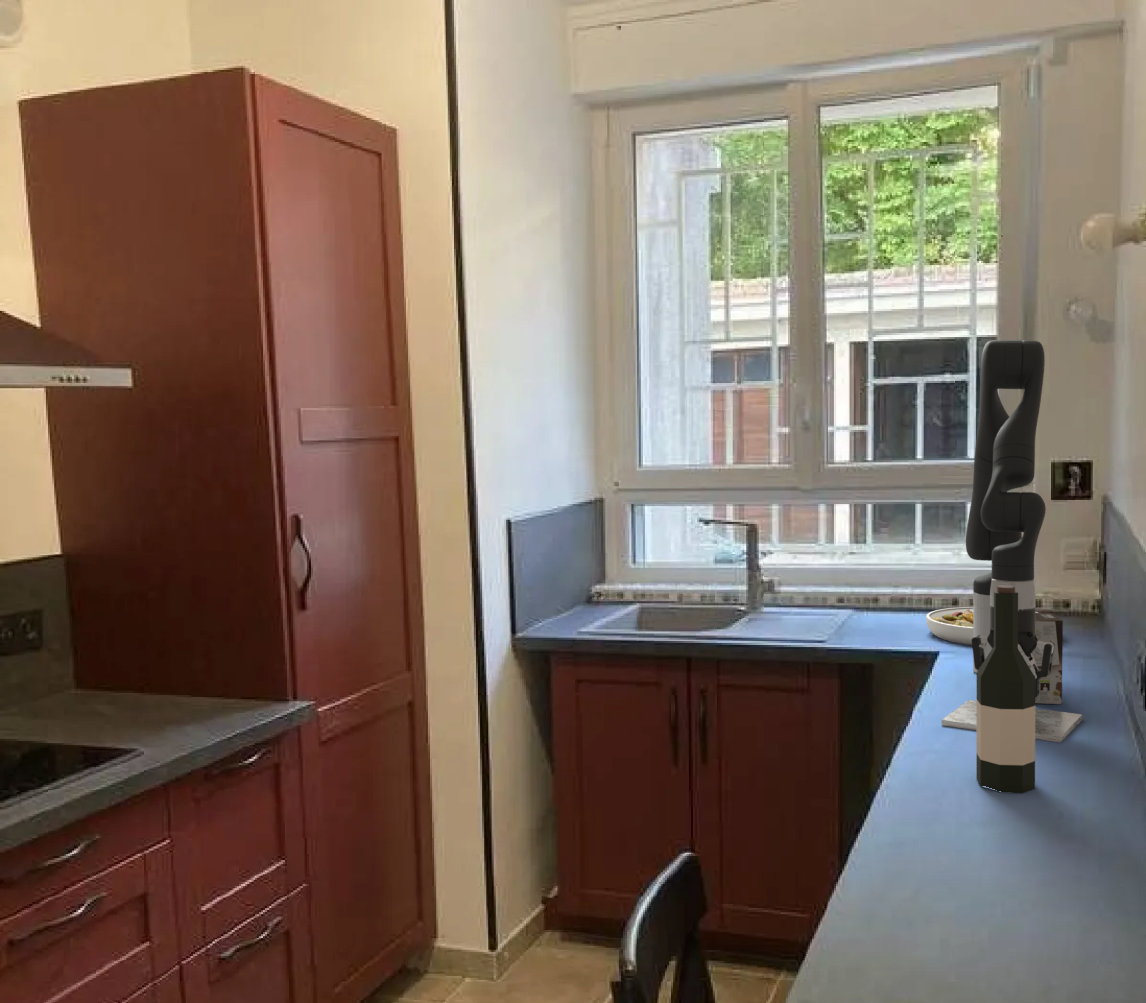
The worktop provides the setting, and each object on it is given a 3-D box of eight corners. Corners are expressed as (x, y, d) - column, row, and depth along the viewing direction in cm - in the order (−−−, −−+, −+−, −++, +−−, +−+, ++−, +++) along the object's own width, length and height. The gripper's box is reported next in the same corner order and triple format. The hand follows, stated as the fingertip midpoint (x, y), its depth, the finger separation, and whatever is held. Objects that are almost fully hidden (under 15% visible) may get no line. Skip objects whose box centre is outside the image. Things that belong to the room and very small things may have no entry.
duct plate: (968, 705, 211) (968, 674, 210) (1082, 720, 199) (1082, 687, 198) (941, 725, 198) (941, 692, 197) (1060, 742, 186) (1061, 707, 186)
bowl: (1047, 654, 253) (1048, 620, 252) (913, 644, 268) (913, 611, 267) (1063, 630, 279) (1063, 599, 278) (940, 622, 294) (940, 593, 293)
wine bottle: (1029, 797, 161) (1030, 592, 158) (970, 788, 165) (970, 588, 163) (1039, 780, 168) (1040, 584, 165) (982, 772, 172) (982, 581, 170)
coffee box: (1063, 704, 209) (1064, 620, 208) (1027, 703, 211) (1027, 620, 209) (1052, 692, 218) (1053, 611, 217) (1018, 692, 220) (1018, 611, 218)
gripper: (1060, 604, 195) (1060, 697, 197) (977, 598, 204) (977, 687, 205) (1050, 610, 189) (1049, 706, 191) (965, 604, 198) (965, 696, 199)
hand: (1012, 696), depth 198 cm, fingers closed on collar, 6 cm apart
